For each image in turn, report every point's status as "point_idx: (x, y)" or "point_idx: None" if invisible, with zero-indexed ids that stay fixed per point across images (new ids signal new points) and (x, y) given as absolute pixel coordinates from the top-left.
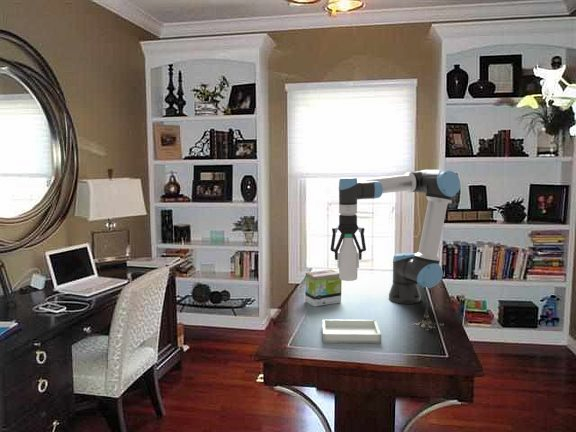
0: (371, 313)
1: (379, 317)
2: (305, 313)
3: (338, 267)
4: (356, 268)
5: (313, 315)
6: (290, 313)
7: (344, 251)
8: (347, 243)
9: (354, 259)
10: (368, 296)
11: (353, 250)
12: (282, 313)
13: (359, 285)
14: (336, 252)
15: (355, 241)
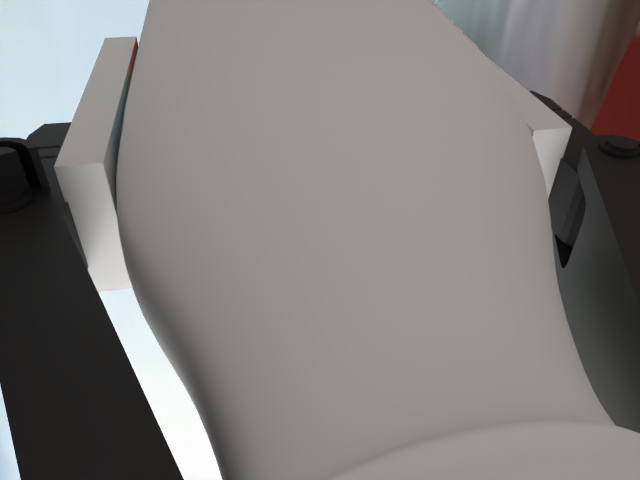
0: (83, 86)
1: (13, 7)
2: (497, 55)
3: None
4: (148, 12)
5: (456, 21)
6: (581, 49)
7: (467, 61)
8: (453, 258)
9: (174, 10)
10: (133, 344)
11: (200, 105)
12: (625, 45)
13: (189, 455)
14: (602, 135)
15: (120, 423)
